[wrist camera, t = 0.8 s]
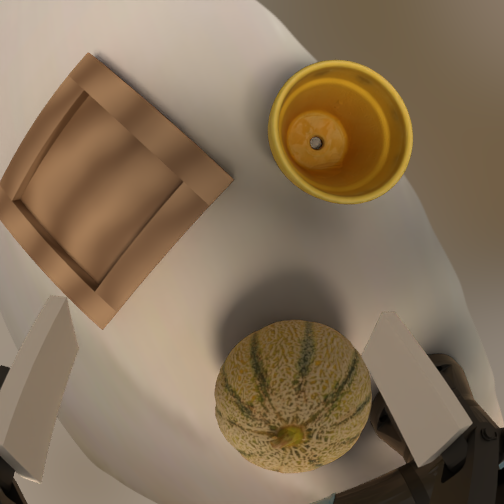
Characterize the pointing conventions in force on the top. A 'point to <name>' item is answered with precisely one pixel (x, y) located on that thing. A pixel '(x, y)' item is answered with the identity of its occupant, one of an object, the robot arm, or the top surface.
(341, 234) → the top surface
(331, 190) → the plant pot
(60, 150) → the walnut tray
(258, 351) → the cantaloupe
